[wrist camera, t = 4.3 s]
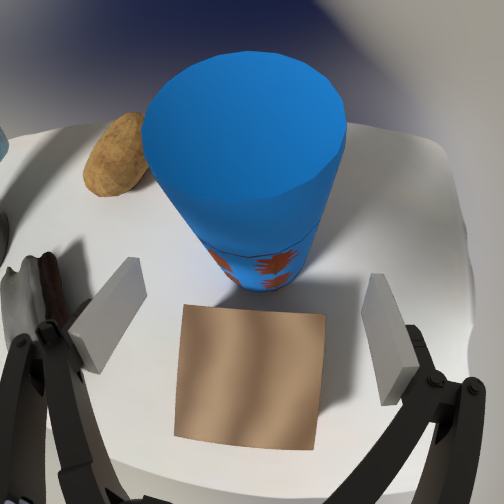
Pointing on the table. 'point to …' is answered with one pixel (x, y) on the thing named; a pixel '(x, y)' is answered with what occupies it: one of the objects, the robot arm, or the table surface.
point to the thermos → (248, 159)
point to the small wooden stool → (249, 377)
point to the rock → (32, 297)
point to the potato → (117, 158)
